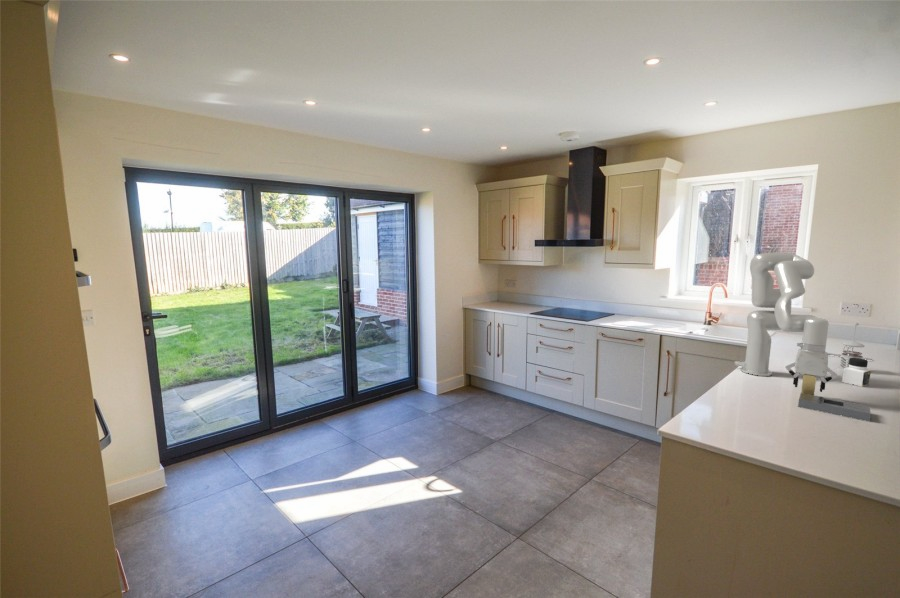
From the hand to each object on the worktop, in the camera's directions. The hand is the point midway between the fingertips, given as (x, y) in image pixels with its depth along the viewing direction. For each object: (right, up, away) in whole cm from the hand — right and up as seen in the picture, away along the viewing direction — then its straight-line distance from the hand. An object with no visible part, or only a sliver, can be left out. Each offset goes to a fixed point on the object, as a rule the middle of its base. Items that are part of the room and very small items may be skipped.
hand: (808, 388), depth 173 cm
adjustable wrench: (+75, +4, +64) cm, 98 cm away
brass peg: (0, -4, +1) cm, 4 cm away
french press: (+55, +1, +39) cm, 67 cm away
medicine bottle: (+38, -2, +18) cm, 42 cm away
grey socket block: (-2, -6, -13) cm, 14 cm away
